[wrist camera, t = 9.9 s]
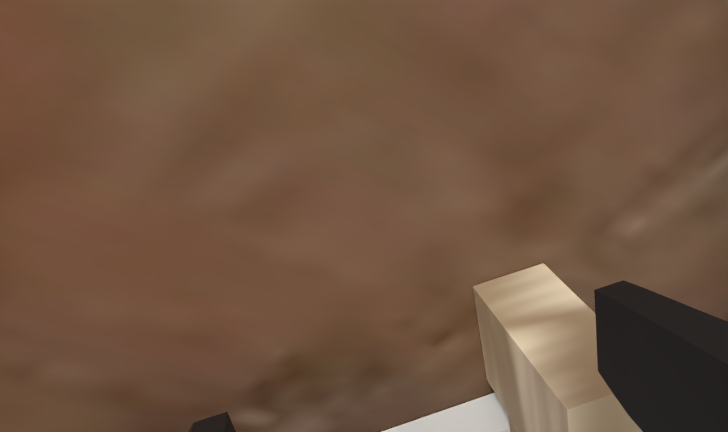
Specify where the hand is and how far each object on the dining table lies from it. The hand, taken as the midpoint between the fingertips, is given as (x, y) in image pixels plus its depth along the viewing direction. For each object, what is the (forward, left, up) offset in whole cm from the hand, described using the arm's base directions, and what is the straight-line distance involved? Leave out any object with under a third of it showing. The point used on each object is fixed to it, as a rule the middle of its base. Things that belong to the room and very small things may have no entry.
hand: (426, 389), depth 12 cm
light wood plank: (+6, -13, -10) cm, 18 cm away
